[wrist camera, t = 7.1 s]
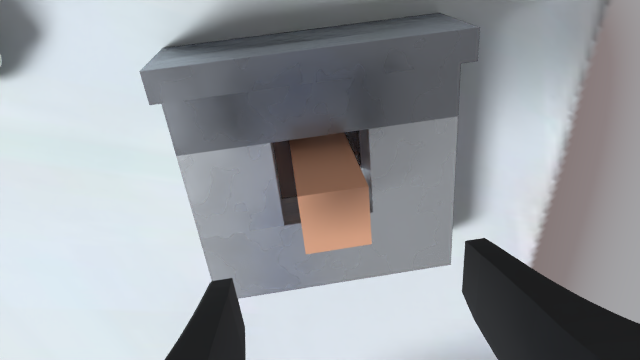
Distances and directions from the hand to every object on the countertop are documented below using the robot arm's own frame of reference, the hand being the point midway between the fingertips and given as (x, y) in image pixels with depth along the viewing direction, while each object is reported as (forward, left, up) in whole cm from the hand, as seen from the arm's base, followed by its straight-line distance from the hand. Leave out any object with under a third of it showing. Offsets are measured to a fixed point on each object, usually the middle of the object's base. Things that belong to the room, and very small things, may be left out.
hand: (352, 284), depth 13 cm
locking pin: (0, 0, -9) cm, 9 cm away
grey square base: (0, 0, -9) cm, 9 cm away
